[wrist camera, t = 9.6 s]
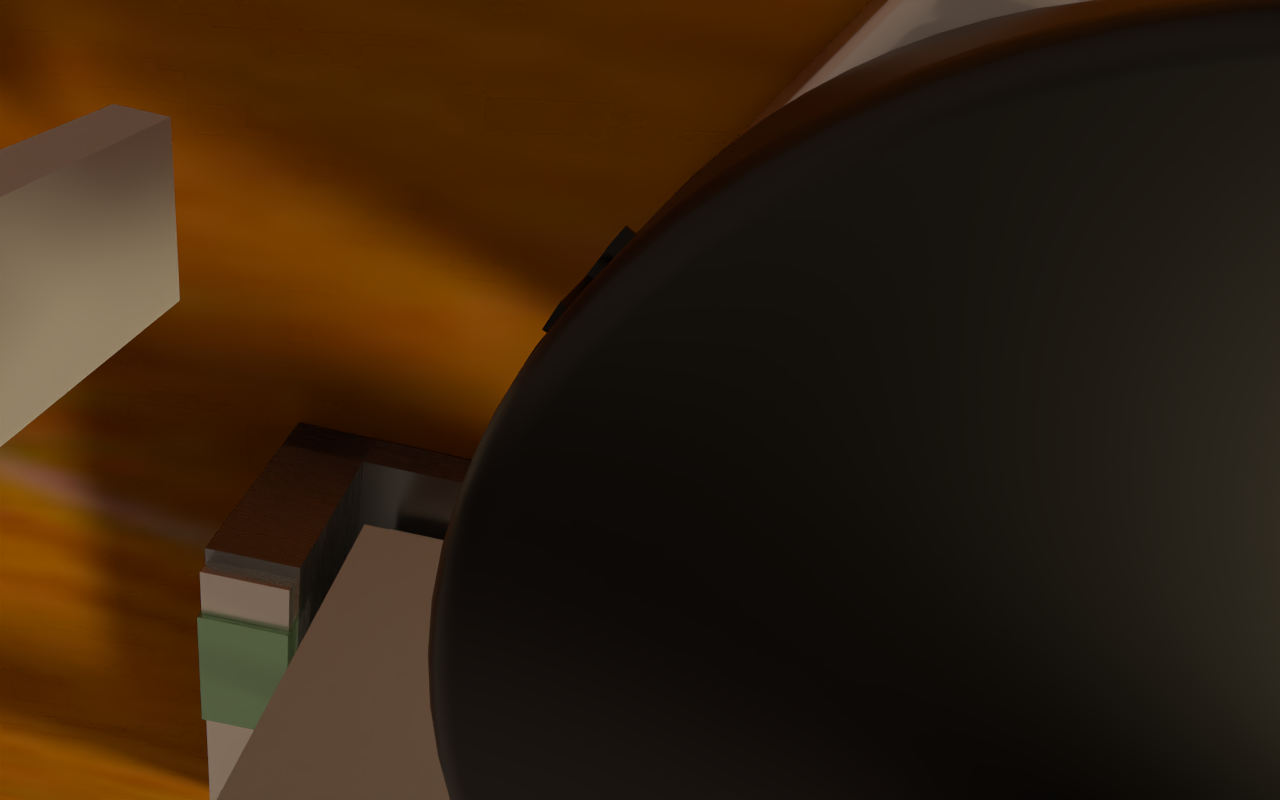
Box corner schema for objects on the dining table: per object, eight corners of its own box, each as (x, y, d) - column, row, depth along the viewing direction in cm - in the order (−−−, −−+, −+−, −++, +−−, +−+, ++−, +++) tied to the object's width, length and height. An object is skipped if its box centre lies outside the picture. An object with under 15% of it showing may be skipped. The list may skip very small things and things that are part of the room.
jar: (635, 66, 15) (135, 194, 5) (1179, -103, 13) (2754, -650, 2) (763, 532, 18) (640, 1289, 7) (1229, 461, 16) (2040, 1418, 5)
